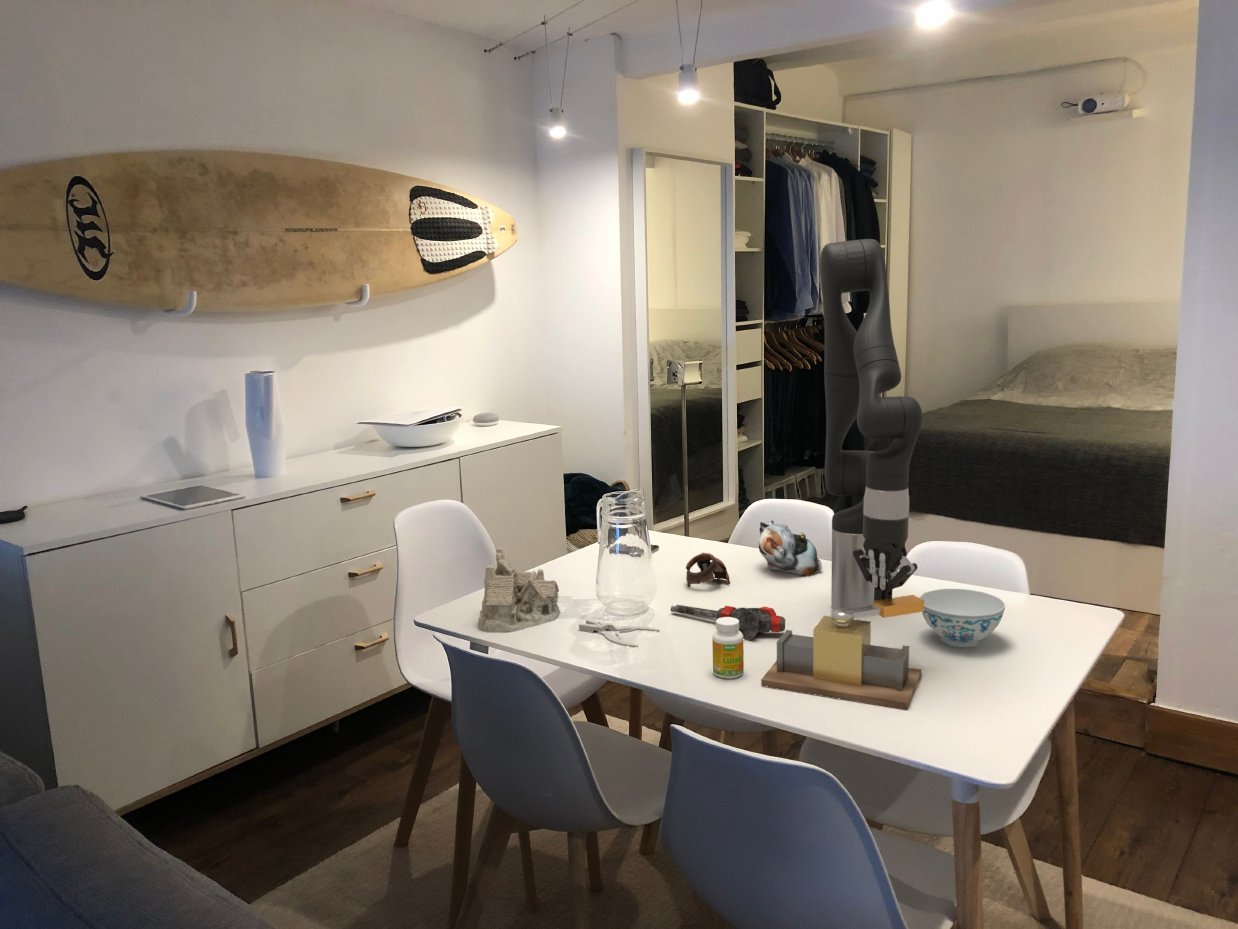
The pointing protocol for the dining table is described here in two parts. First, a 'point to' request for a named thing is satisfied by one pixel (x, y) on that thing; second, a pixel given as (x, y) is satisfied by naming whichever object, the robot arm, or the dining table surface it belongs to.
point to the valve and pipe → (843, 655)
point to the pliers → (602, 628)
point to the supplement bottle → (728, 649)
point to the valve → (741, 618)
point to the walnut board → (845, 688)
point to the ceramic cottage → (516, 598)
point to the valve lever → (881, 608)
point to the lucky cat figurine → (787, 550)
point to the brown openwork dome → (706, 569)
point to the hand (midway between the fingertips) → (882, 607)
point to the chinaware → (962, 615)
